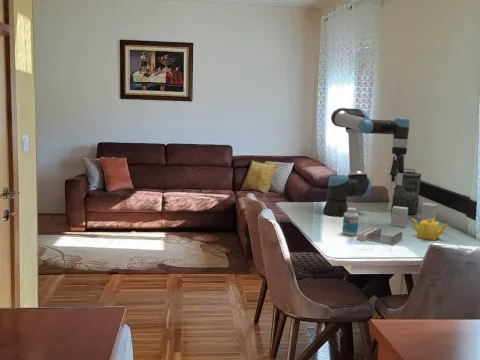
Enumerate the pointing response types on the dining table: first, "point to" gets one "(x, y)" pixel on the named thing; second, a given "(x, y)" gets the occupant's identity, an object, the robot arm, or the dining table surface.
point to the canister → (408, 192)
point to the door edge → (365, 234)
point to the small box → (399, 216)
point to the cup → (428, 211)
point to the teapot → (428, 229)
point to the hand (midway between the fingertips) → (395, 186)
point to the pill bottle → (350, 222)
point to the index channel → (384, 237)
